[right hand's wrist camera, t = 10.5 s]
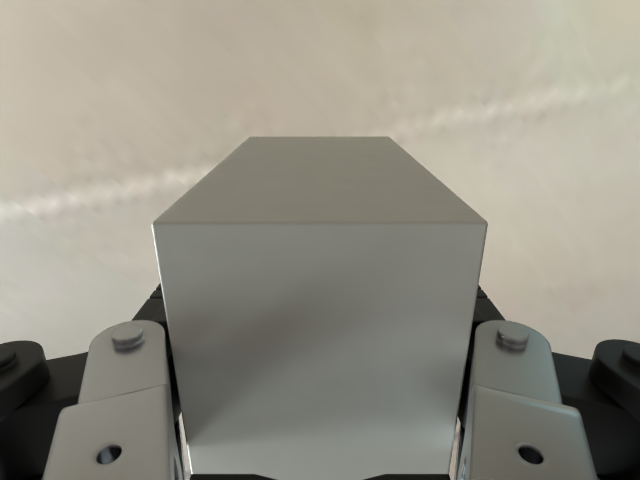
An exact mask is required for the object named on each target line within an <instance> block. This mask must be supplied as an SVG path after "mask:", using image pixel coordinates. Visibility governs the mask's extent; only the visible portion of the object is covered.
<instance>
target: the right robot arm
mask: <svg viewBox="0 0 640 480" xmlns="http://www.w3.org/2000/svg"><path fill="white" fill-rule="evenodd" d="M180 413H181V405H180V399H179V393H178V387H177V381H176V374H175V368H174V362H173V356H172V350H171V343H170V337H169V331H168V325H167V319H166V312H165V306H164V300H163V294H162V287H161V283H160V284H159V285H158V287H157V288H156V290H155V291H154V292H153V293H152V295H151V296H150V299H148V300H147V301H146V302H145V304H144V305H143V306H142V308H141V309H140V310H139V312H138V313H137V314H136V315H135V317H134V318H133V319H132V321H128V322H124V323H120V324H117V325H115V326H112V327H110V328H108V329H106V330H104V331H103V332H101V333H100V334H99V335H97V336H96V337H95V338H94V339H93V341H92V342H91V344H90V347H89V352H85V353H81V354H77V355H72V356H66V357H61V358H56V359H51V360H46V358H45V354H44V351H43V348H42V346H41V345H40V344H38V343H36V342H32V341H13V342H8V343H3V344H0V480H186V478H185V467H184V457H183V446H182V436H181V429H180V423H179V415H180ZM458 418H459V420H460V429H459V436H458V446H457V457H456V467H455V477H454V480H640V344H639V343H636V342H631V341H626V340H605V341H602V342H600V343H599V344H597V346H596V348H595V351H594V355H593V358H592V360H590V359H584V358H579V357H574V356H569V355H563V354H558V353H554V352H551V347H550V344H549V342H548V341H547V339H546V338H545V337H544V336H543V335H541V334H540V333H539V332H537V331H536V330H534V329H532V328H530V327H528V326H525V325H523V324H520V323H516V322H512V321H506V320H505V319H504V318H503V316H502V315H501V314H500V312H499V311H498V310H497V308H496V307H495V306H494V304H493V303H492V302H491V301H490V299H487V295H486V294H485V293H484V291H483V290H481V287H480V286H479V285H478V290H477V296H476V302H475V309H474V315H473V322H472V328H471V334H470V341H469V347H468V354H467V360H466V366H465V373H464V379H463V385H462V392H461V398H460V405H459V411H458ZM190 480H277V479H273V478H269V477H265V476H261V475H257V474H191V477H190ZM363 480H450V477H449V474H383V475H379V476H375V477H371V478H367V479H363Z"/></svg>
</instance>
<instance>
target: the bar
mask: <svg viewBox="0 0 640 480" xmlns="http://www.w3.org/2000/svg"><path fill="white" fill-rule="evenodd" d="M487 226H488V223H487V221H486V220H484V219H483V218H482V217H481V216H480V215H479V214H478V213H476V212H475V211H474V210H473V209H472V208H471V207H469V206H468V205H467V204H466V203H465V202H464V201H463V200H461V199H460V198H459V197H458V196H457V195H456V194H454V193H453V192H452V191H451V190H450V189H449V188H448V187H446V186H445V185H444V184H443V183H442V182H441V181H439V180H438V179H437V178H436V177H435V176H434V175H432V174H431V173H430V172H429V171H428V170H427V169H426V168H424V167H423V166H422V165H421V164H420V163H419V162H417V161H416V160H415V159H414V158H413V157H412V156H411V155H409V154H408V153H407V152H406V151H405V150H404V149H402V148H401V147H400V146H399V145H398V144H397V143H396V142H394V141H393V140H392V139H391V138H390V137H249V138H248V139H247V140H246V141H245V142H243V143H242V144H241V145H240V146H239V147H238V148H237V149H235V150H234V151H233V152H232V153H231V154H230V155H229V156H227V157H226V158H225V159H224V160H223V161H222V162H221V163H219V164H218V165H217V166H216V167H215V168H214V169H213V170H211V171H210V172H209V173H208V174H207V175H206V176H205V177H203V178H202V179H201V180H200V181H199V182H198V183H197V184H195V185H194V186H193V187H192V188H191V189H190V190H189V191H188V192H186V193H185V194H184V195H183V196H182V197H181V198H180V199H178V200H177V201H176V202H175V203H174V204H173V205H172V206H170V207H169V208H168V209H167V210H166V211H165V212H164V213H162V214H161V215H160V216H159V217H158V218H157V219H156V220H154V221H153V222H152V232H153V238H154V244H155V250H156V256H157V263H158V269H159V275H160V281H161V287H162V294H163V300H164V306H165V312H166V319H167V325H168V331H169V337H170V343H171V350H172V356H173V362H174V368H175V374H176V381H177V387H178V393H179V399H180V405H181V412H182V418H183V424H184V430H185V436H186V443H187V449H188V455H189V461H190V467H191V474H257V475H261V476H265V477H269V478H273V479H277V480H363V479H367V478H371V477H375V476H379V475H383V474H449V468H450V462H451V456H452V449H453V443H454V436H455V430H456V424H457V417H458V411H459V405H460V398H461V392H462V385H463V379H464V373H465V366H466V360H467V354H468V347H469V341H470V334H471V328H472V322H473V315H474V309H475V302H476V296H477V290H478V283H479V277H480V271H481V264H482V258H483V251H484V245H485V239H486V232H487Z"/></svg>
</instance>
